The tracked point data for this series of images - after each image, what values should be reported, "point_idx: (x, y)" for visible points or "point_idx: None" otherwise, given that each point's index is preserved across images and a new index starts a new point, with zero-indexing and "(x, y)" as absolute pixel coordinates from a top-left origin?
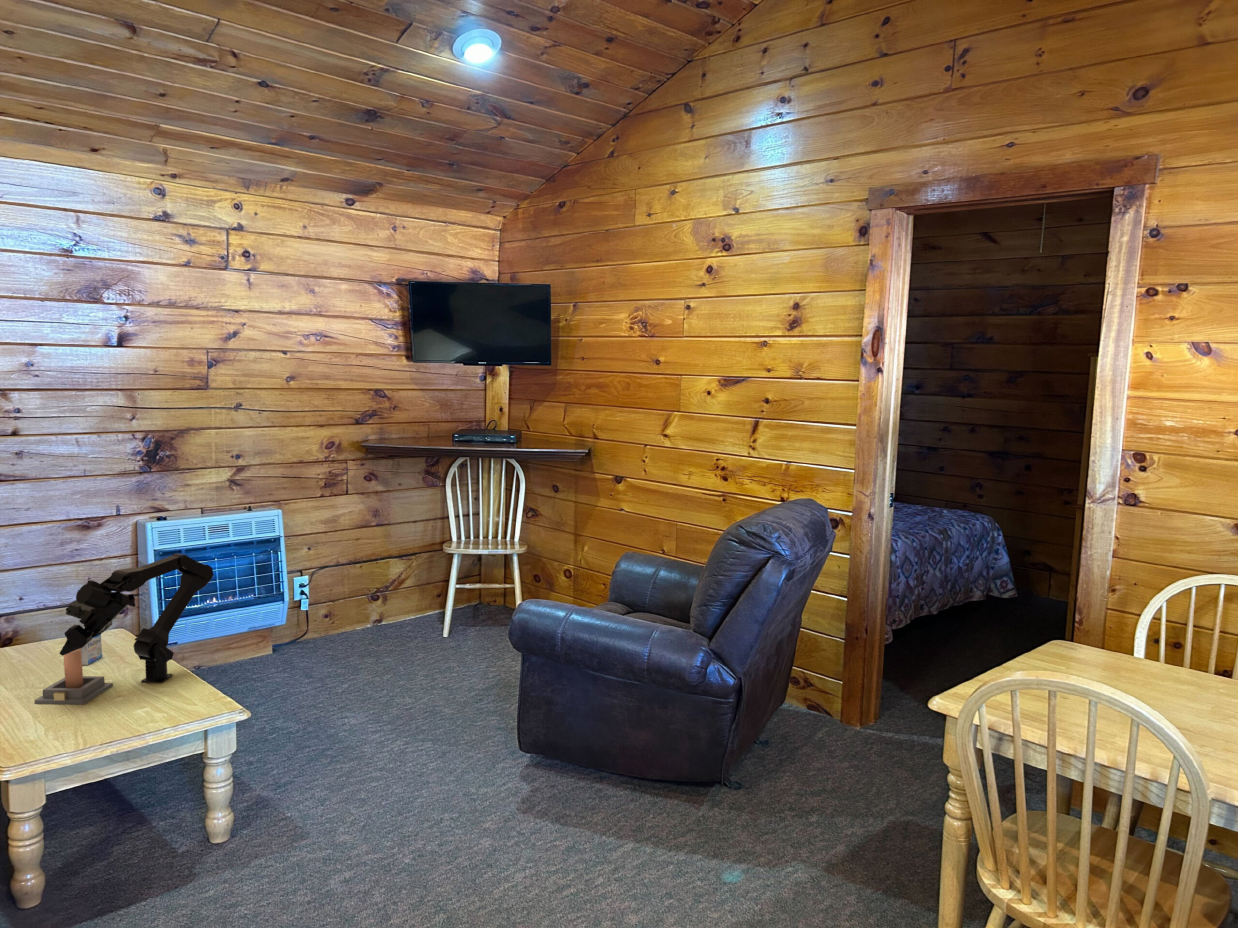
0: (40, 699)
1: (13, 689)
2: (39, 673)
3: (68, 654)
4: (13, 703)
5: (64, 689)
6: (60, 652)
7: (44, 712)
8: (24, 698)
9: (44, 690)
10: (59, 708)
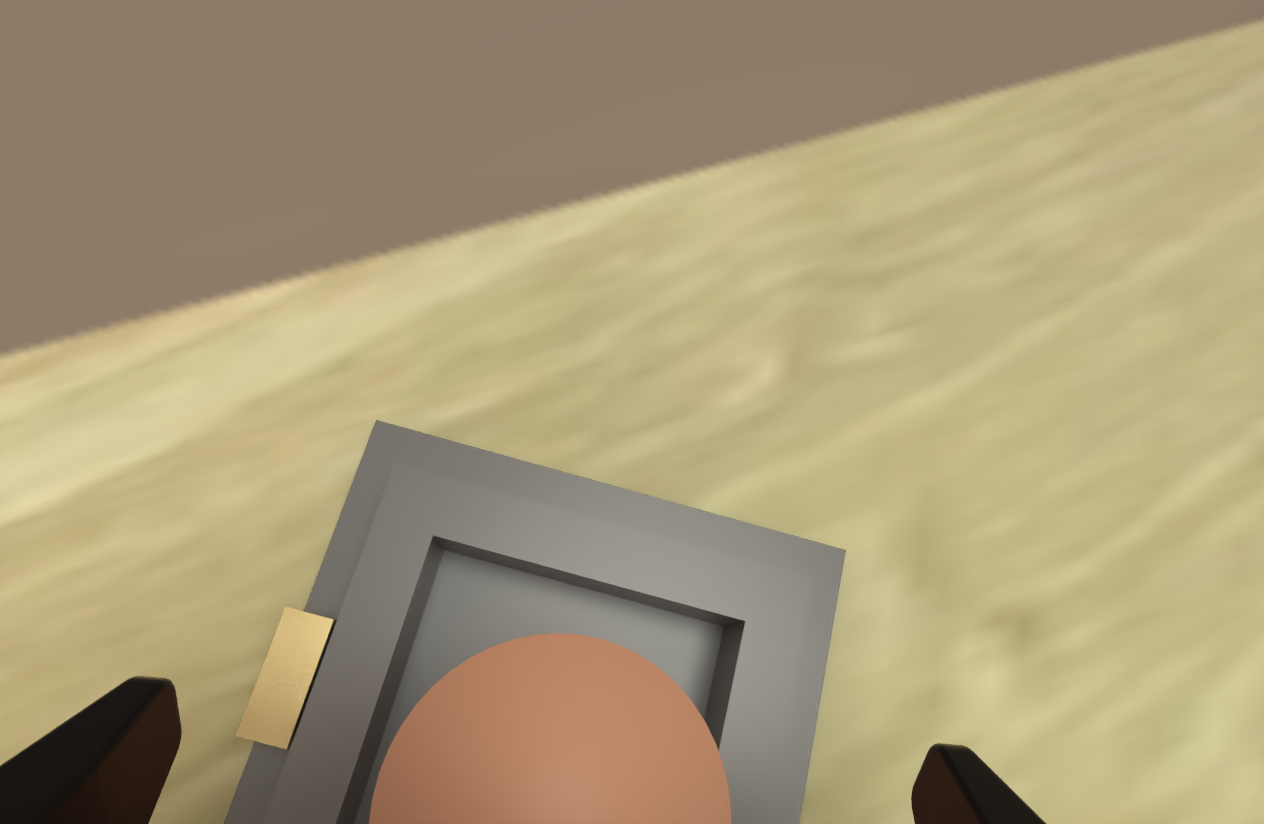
0: (385, 468)
1: (798, 163)
2: (1157, 239)
3: (374, 795)
4: (447, 258)
5: (326, 709)
6: (100, 709)
7: (84, 600)
8: (554, 305)
9: (388, 484)
10: None
